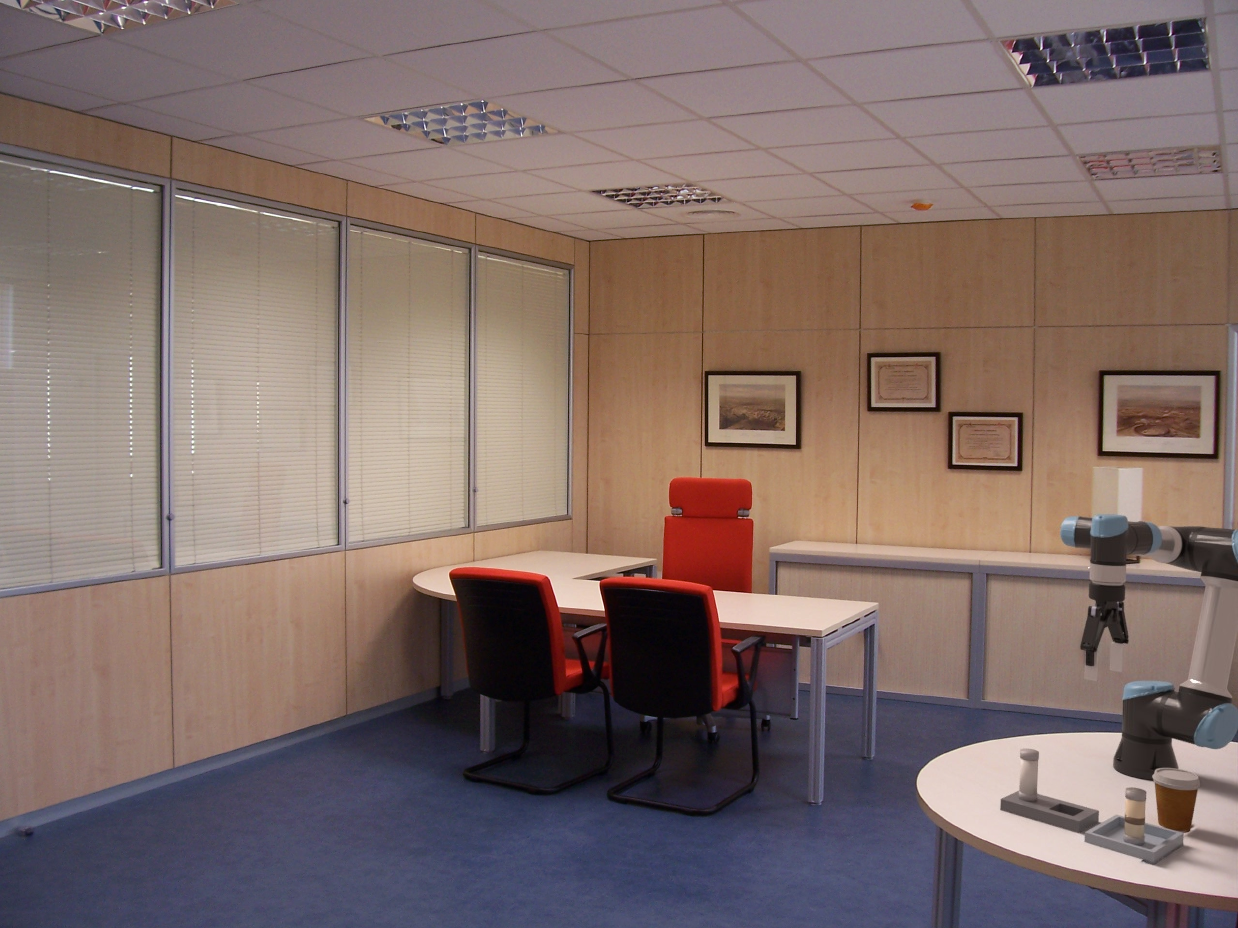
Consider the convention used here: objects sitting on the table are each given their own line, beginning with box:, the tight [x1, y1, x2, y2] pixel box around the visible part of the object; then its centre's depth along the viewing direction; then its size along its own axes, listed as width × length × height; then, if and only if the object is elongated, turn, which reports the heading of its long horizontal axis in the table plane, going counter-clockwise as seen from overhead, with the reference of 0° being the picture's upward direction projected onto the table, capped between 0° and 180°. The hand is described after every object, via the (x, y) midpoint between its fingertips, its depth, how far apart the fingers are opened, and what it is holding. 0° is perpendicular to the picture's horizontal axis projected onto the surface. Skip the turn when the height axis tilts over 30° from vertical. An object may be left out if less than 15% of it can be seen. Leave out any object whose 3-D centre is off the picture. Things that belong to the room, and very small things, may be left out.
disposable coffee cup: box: [1152, 768, 1201, 833], centre depth 238 cm, size 10×10×12 cm
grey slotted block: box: [999, 748, 1100, 834], centre depth 243 cm, size 10×18×14 cm, turn 43°
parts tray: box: [1084, 814, 1184, 866], centre depth 228 cm, size 16×14×2 cm
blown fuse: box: [1124, 787, 1147, 846], centre depth 228 cm, size 4×4×11 cm
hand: (1103, 675), depth 245 cm, fingers open, 13 cm apart
